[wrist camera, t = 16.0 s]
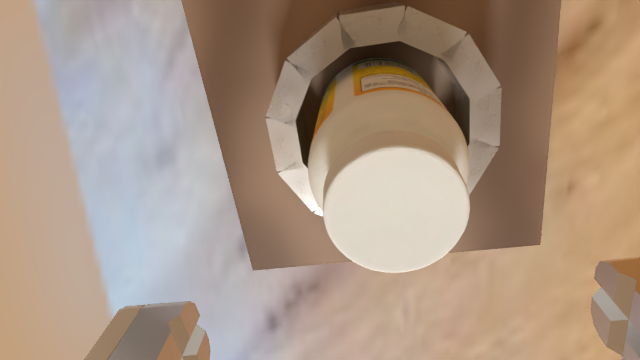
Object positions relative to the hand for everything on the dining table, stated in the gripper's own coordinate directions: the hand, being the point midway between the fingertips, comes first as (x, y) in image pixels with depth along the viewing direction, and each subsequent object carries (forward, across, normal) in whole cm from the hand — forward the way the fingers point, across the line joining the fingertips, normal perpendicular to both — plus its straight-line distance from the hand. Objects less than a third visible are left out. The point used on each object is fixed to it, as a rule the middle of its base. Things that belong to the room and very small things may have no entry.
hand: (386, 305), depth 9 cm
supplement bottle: (+13, -1, 0) cm, 13 cm away
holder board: (+14, -1, 0) cm, 14 cm away
